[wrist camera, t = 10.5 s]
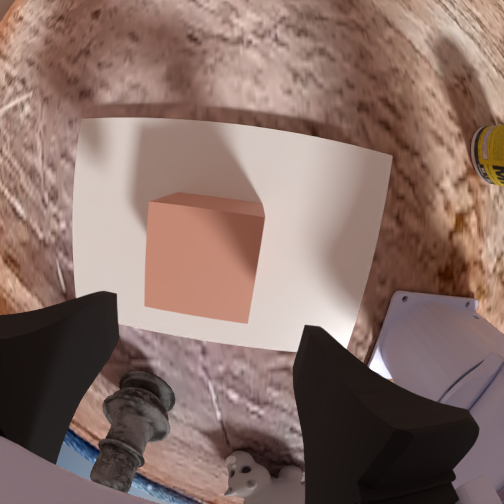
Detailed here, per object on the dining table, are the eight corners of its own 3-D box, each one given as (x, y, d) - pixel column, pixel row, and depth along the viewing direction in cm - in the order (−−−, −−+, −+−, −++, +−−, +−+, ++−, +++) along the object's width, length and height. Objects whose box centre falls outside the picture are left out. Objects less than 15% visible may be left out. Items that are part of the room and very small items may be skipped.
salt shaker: (112, 361, 22) (49, 464, 11) (177, 375, 22) (137, 497, 11) (121, 407, 24) (77, 502, 12) (179, 420, 24) (151, 527, 12)
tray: (383, 156, 18) (392, 155, 16) (339, 344, 21) (344, 355, 20) (91, 121, 17) (80, 118, 16) (86, 305, 21) (77, 313, 19)
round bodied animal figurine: (268, 420, 27) (248, 467, 19) (328, 486, 25) (324, 536, 17) (218, 444, 28) (187, 487, 20) (278, 505, 26) (263, 552, 18)
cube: (262, 203, 17) (265, 217, 12) (249, 284, 18) (247, 323, 14) (177, 192, 17) (149, 201, 12) (170, 271, 18) (144, 306, 13)
